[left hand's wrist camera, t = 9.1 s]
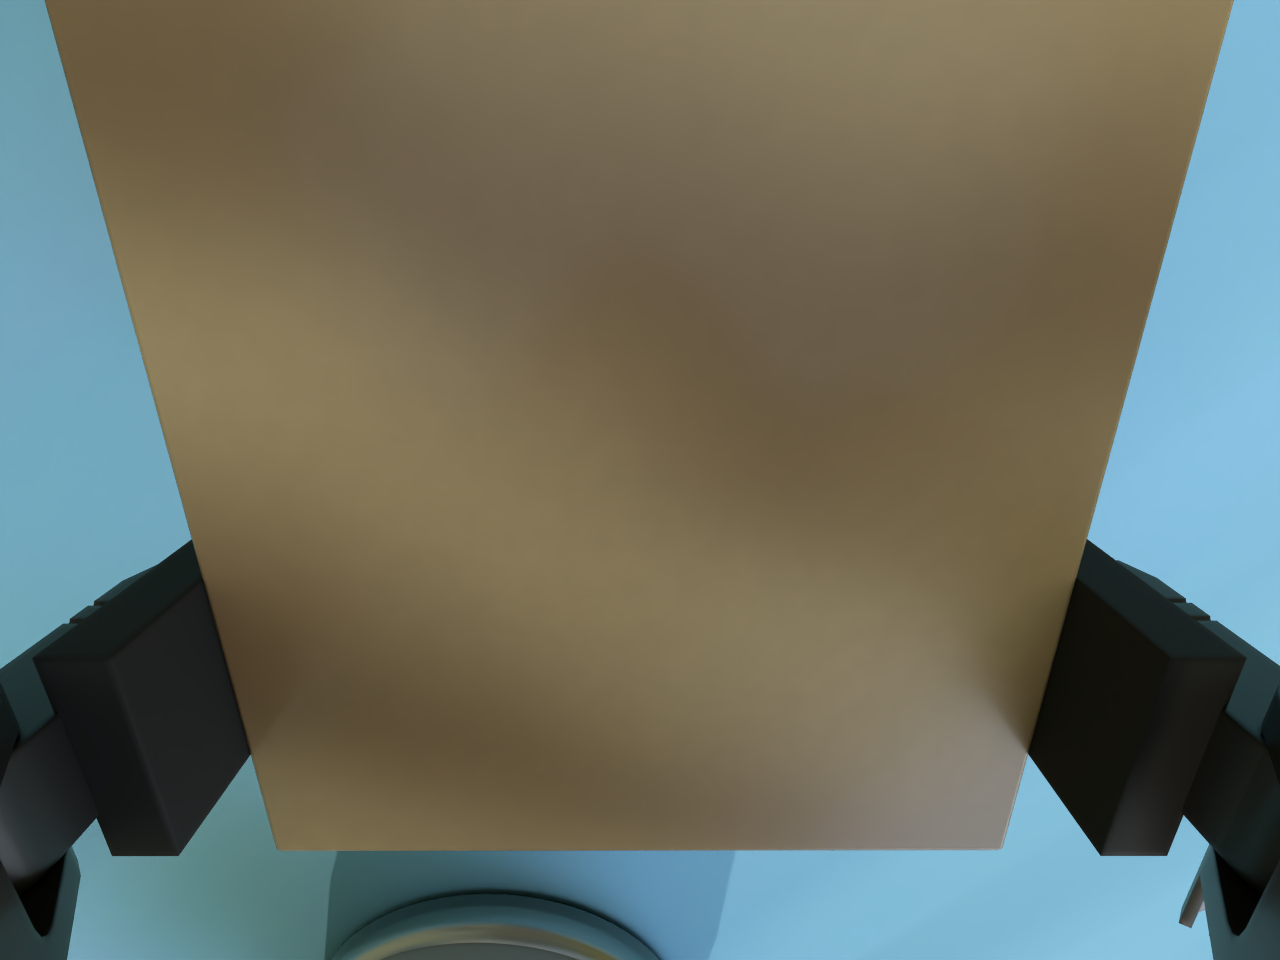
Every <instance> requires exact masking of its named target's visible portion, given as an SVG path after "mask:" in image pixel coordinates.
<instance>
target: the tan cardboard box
mask: <svg viewBox="0 0 1280 960" xmlns="http://www.w3.org/2000/svg"><path fill="white" fill-rule="evenodd" d="M1233 1H1234V0H45V3H46V7H47V11H48V14H49V18H50V22H51V25H52V29H53V33H54V36H55V40H56V44H57V47H58V51H59V55H60V58H61V62H62V66H63V69H64V73H65V76H66V80H67V84H68V87H69V91H70V95H71V98H72V102H73V106H74V109H75V113H76V117H77V120H78V124H79V128H80V131H81V135H82V139H83V142H84V146H85V150H86V153H87V157H88V161H89V164H90V168H91V172H92V175H93V179H94V183H95V186H96V190H97V194H98V197H99V201H100V205H101V208H102V212H103V216H104V219H105V223H106V226H107V230H108V234H109V237H110V241H111V245H112V248H113V252H114V256H115V259H116V263H117V267H118V270H119V274H120V278H121V281H122V285H123V289H124V292H125V296H126V300H127V303H128V307H129V311H130V314H131V318H132V322H133V325H134V329H135V333H136V336H137V340H138V344H139V347H140V351H141V355H142V358H143V362H144V366H145V369H146V373H147V376H148V380H149V384H150V387H151V391H152V395H153V398H154V402H155V406H156V409H157V413H158V417H159V420H160V424H161V428H162V431H163V435H164V439H165V442H166V446H167V450H168V453H169V457H170V461H171V464H172V468H173V472H174V475H175V479H176V483H177V486H178V490H179V494H180V497H181V501H182V505H183V508H184V512H185V516H186V519H187V523H188V527H189V530H190V534H191V537H192V541H193V545H194V548H195V552H196V556H197V559H198V563H199V567H200V570H201V574H202V578H203V581H204V585H205V589H206V592H207V596H208V600H209V603H210V607H211V611H212V614H213V618H214V622H215V625H216V629H217V633H218V636H219V640H220V644H221V647H222V651H223V655H224V658H225V662H226V666H227V669H228V673H229V677H230V680H231V684H232V687H233V691H234V695H235V698H236V702H237V706H238V709H239V713H240V717H241V720H242V724H243V728H244V731H245V735H246V739H247V742H248V746H249V750H250V753H251V757H252V761H253V764H254V768H255V772H256V775H257V779H258V783H259V786H260V790H261V794H262V797H263V801H264V805H265V808H266V812H267V816H268V819H269V823H270V827H271V830H272V834H273V838H274V841H275V845H276V848H277V849H278V850H280V851H544V850H999V849H1001V848H1002V847H1003V844H1004V840H1005V837H1006V833H1007V829H1008V826H1009V822H1010V818H1011V815H1012V811H1013V807H1014V804H1015V800H1016V796H1017V793H1018V789H1019V785H1020V782H1021V778H1022V774H1023V771H1024V767H1025V763H1026V760H1027V756H1028V752H1029V749H1030V745H1031V741H1032V738H1033V734H1034V730H1035V727H1036V723H1037V719H1038V716H1039V712H1040V708H1041V705H1042V701H1043V697H1044V694H1045V690H1046V686H1047V683H1048V679H1049V675H1050V672H1051V668H1052V664H1053V661H1054V657H1055V653H1056V650H1057V646H1058V642H1059V639H1060V635H1061V631H1062V628H1063V624H1064V620H1065V617H1066V613H1067V609H1068V606H1069V602H1070V598H1071V595H1072V591H1073V587H1074V584H1075V580H1076V576H1077V573H1078V569H1079V565H1080V562H1081V558H1082V554H1083V551H1084V547H1085V543H1086V540H1087V536H1088V533H1089V529H1090V525H1091V522H1092V518H1093V514H1094V511H1095V507H1096V503H1097V500H1098V496H1099V492H1100V489H1101V485H1102V481H1103V478H1104V474H1105V470H1106V467H1107V463H1108V459H1109V456H1110V452H1111V448H1112V445H1113V441H1114V437H1115V434H1116V430H1117V426H1118V423H1119V419H1120V415H1121V412H1122V408H1123V404H1124V401H1125V397H1126V393H1127V390H1128V386H1129V382H1130V379H1131V375H1132V371H1133V368H1134V364H1135V360H1136V357H1137V353H1138V349H1139V346H1140V342H1141V338H1142V335H1143V331H1144V327H1145V324H1146V320H1147V316H1148V313H1149V309H1150V305H1151V302H1152V298H1153V294H1154V291H1155V287H1156V283H1157V280H1158V276H1159V272H1160V269H1161V265H1162V261H1163V258H1164V254H1165V250H1166V247H1167V243H1168V239H1169V236H1170V232H1171V228H1172V225H1173V221H1174V217H1175V214H1176V210H1177V206H1178V203H1179V199H1180V195H1181V192H1182V188H1183V185H1184V181H1185V177H1186V174H1187V170H1188V166H1189V163H1190V159H1191V155H1192V152H1193V148H1194V144H1195V141H1196V137H1197V133H1198V130H1199V126H1200V122H1201V119H1202V115H1203V111H1204V108H1205V104H1206V100H1207V97H1208V93H1209V89H1210V86H1211V82H1212V78H1213V75H1214V71H1215V67H1216V64H1217V60H1218V56H1219V53H1220V49H1221V45H1222V42H1223V38H1224V34H1225V31H1226V27H1227V23H1228V20H1229V16H1230V12H1231V9H1232V5H1233Z"/></svg>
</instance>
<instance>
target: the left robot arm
mask: <svg viewBox="0 0 1280 960" xmlns="http://www.w3.org/2000/svg"><path fill="white" fill-rule="evenodd" d="M1028 754H1029V756H1030V757H1031V758H1032V760H1033V761H1034V763H1035V764H1036V765H1037V767H1038V768H1039V770H1040V771H1041V773H1042V774H1043V775H1044V777H1045V778H1046V780H1047V781H1048V782H1049V784H1050V785H1051V787H1052V788H1053V789H1054V791H1055V792H1056V794H1057V795H1058V796H1059V798H1060V799H1061V801H1062V802H1063V803H1064V805H1065V806H1066V808H1067V809H1068V811H1069V812H1070V813H1071V815H1072V816H1073V818H1074V819H1075V820H1076V822H1077V823H1078V825H1079V826H1080V827H1081V829H1082V830H1083V832H1084V833H1085V834H1086V836H1087V837H1088V839H1089V840H1090V841H1091V843H1092V844H1093V846H1094V847H1095V849H1096V850H1097V851H1098V853H1099V854H1100V856H1167V854H1168V852H1169V849H1170V847H1171V845H1172V842H1173V840H1174V837H1175V835H1176V832H1177V830H1178V827H1179V825H1180V822H1181V820H1182V817H1183V815H1184V816H1185V817H1186V818H1187V819H1188V820H1189V821H1190V822H1191V824H1192V825H1193V826H1194V827H1195V828H1196V829H1197V830H1198V831H1199V833H1200V834H1201V835H1202V836H1203V837H1204V838H1205V839H1206V840H1207V841H1208V843H1209V846H1208V849H1207V851H1206V853H1205V856H1204V858H1203V860H1202V862H1201V865H1200V867H1199V869H1198V872H1197V874H1196V876H1195V879H1194V881H1193V883H1192V886H1191V888H1190V890H1189V893H1188V895H1187V897H1186V899H1185V902H1184V904H1183V906H1182V909H1181V915H1180V920H1179V923H1180V924H1183V925H1185V926H1187V927H1190V928H1191V927H1192V925H1193V923H1194V921H1195V918H1196V916H1197V914H1198V912H1201V911H1203V910H1205V911H1206V917H1207V923H1208V929H1209V936H1210V941H1211V947H1212V953H1213V959H1214V960H1280V666H1279V665H1278V664H1276V663H1275V662H1273V661H1272V660H1271V659H1269V658H1268V657H1266V656H1265V655H1264V654H1262V653H1261V652H1259V651H1258V650H1257V649H1255V648H1254V647H1252V646H1251V645H1250V644H1248V643H1247V642H1246V641H1244V640H1243V639H1241V638H1240V637H1239V636H1237V635H1236V634H1234V633H1233V632H1232V631H1230V630H1229V629H1227V628H1226V627H1225V626H1223V625H1222V624H1220V623H1219V622H1218V621H1211V620H1210V616H1209V615H1208V614H1206V613H1205V612H1204V611H1202V610H1201V609H1199V608H1198V607H1197V606H1195V605H1194V604H1192V603H1186V598H1184V597H1183V596H1181V595H1180V594H1179V593H1177V592H1176V591H1174V590H1173V589H1172V588H1170V587H1169V586H1167V585H1166V584H1165V583H1163V582H1162V581H1160V580H1159V579H1158V578H1156V577H1154V576H1151V575H1149V574H1147V573H1145V572H1143V571H1140V570H1138V569H1136V568H1134V567H1132V566H1130V565H1127V564H1125V563H1123V562H1121V561H1119V560H1114V559H1113V558H1112V557H1110V556H1109V555H1108V554H1106V553H1105V552H1104V551H1102V550H1101V549H1100V548H1098V547H1097V546H1096V545H1094V544H1093V543H1092V542H1090V541H1089V540H1086V543H1085V547H1084V551H1083V554H1082V558H1081V562H1080V565H1079V569H1078V573H1077V576H1076V580H1075V584H1074V587H1073V591H1072V595H1071V598H1070V602H1069V606H1068V609H1067V613H1066V617H1065V620H1064V624H1063V628H1062V631H1061V635H1060V639H1059V642H1058V646H1057V650H1056V653H1055V657H1054V661H1053V664H1052V668H1051V672H1050V675H1049V679H1048V683H1047V686H1046V690H1045V694H1044V697H1043V701H1042V705H1041V708H1040V712H1039V716H1038V719H1037V723H1036V727H1035V730H1034V734H1033V738H1032V741H1031V745H1030V749H1029V752H1028ZM250 755H251V753H250V750H249V746H248V742H247V739H246V735H245V731H244V728H243V724H242V720H241V717H240V713H239V709H238V706H237V702H236V698H235V695H234V691H233V687H232V684H231V680H230V677H229V673H228V669H227V666H226V662H225V658H224V655H223V651H222V647H221V644H220V640H219V636H218V633H217V629H216V625H215V622H214V618H213V614H212V611H211V607H210V603H209V600H208V596H207V592H206V589H205V585H204V581H203V578H202V574H201V570H200V567H199V563H198V559H197V556H196V552H195V548H194V545H193V541H192V540H190V541H189V542H188V543H186V544H185V545H184V546H182V547H181V548H180V549H178V550H177V551H175V552H174V553H173V554H171V555H170V556H169V557H167V558H166V559H165V560H163V561H162V562H161V563H159V564H158V565H156V566H154V567H151V568H149V569H147V570H145V571H143V572H141V573H138V574H136V575H134V576H132V577H130V578H128V579H125V580H123V581H122V582H120V583H119V584H118V585H116V586H115V587H113V588H112V589H111V590H109V591H108V592H107V593H105V594H104V595H102V596H101V597H100V598H98V599H97V600H95V601H94V606H87V607H86V608H84V609H83V610H82V611H80V612H79V613H77V614H76V615H75V616H73V617H72V618H71V619H70V622H69V624H62V625H61V626H59V627H58V628H57V629H55V630H54V631H53V632H51V633H50V634H48V635H47V636H46V637H44V638H43V639H41V640H40V641H39V642H37V643H36V644H35V645H33V646H32V647H30V648H29V649H28V650H26V651H25V652H23V653H22V654H21V655H19V656H18V657H17V658H15V659H14V660H12V661H11V662H10V663H8V664H7V665H5V666H4V667H3V668H1V669H0V960H67V956H68V950H69V943H70V937H71V931H72V925H73V919H74V913H75V907H76V901H77V895H78V889H79V883H80V877H81V875H80V870H79V864H78V860H77V858H76V856H75V853H74V851H73V849H72V845H73V844H74V842H75V841H76V840H77V839H78V838H79V837H80V836H81V835H82V833H83V832H84V831H85V830H86V829H87V828H88V827H89V826H90V824H91V823H92V822H93V821H94V820H95V819H96V818H97V820H98V822H99V825H100V827H101V830H102V832H103V835H104V837H105V840H106V842H107V845H108V847H109V850H110V852H111V854H112V856H179V854H180V853H181V852H182V850H183V849H184V847H185V846H186V845H187V843H188V842H189V840H190V839H191V838H192V836H193V835H194V833H195V832H196V831H197V829H198V828H199V826H200V825H201V823H202V822H203V821H204V819H205V818H206V816H207V815H208V814H209V812H210V811H211V809H212V808H213V807H214V805H215V804H216V802H217V801H218V800H219V798H220V797H221V795H222V794H223V793H224V791H225V790H226V788H227V787H228V785H229V784H230V783H231V781H232V780H233V778H234V777H235V776H236V774H237V773H238V771H239V770H240V769H241V767H242V766H243V764H244V763H245V762H246V760H247V759H248V757H249V756H250ZM331 960H659V959H658V958H657V957H656V956H655V955H654V953H653V952H652V951H650V950H649V949H648V948H647V947H646V946H645V945H644V944H643V943H641V942H640V941H639V940H637V939H636V938H635V937H633V936H632V935H630V934H629V933H628V932H626V931H624V930H623V929H621V928H619V927H618V926H616V925H614V924H612V923H610V922H608V921H606V920H604V919H602V918H600V917H598V916H596V915H593V914H591V913H588V912H585V911H583V910H580V909H577V908H574V907H571V906H568V905H564V904H561V903H557V902H552V901H548V900H544V899H538V898H532V897H525V896H517V895H505V894H472V895H459V896H451V897H443V898H438V899H433V900H428V901H424V902H420V903H417V904H413V905H409V906H407V907H404V908H401V909H398V910H396V911H393V912H391V913H389V914H387V915H384V916H382V917H380V918H378V919H376V920H375V921H373V922H371V923H370V924H368V925H366V926H365V927H363V928H362V929H361V930H359V931H358V932H357V933H355V934H354V935H353V936H351V937H350V938H349V939H348V940H347V941H346V942H345V943H344V944H343V945H342V946H341V947H340V949H339V950H338V951H337V952H336V953H335V955H334V956H333V958H332V959H331Z"/></svg>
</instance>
